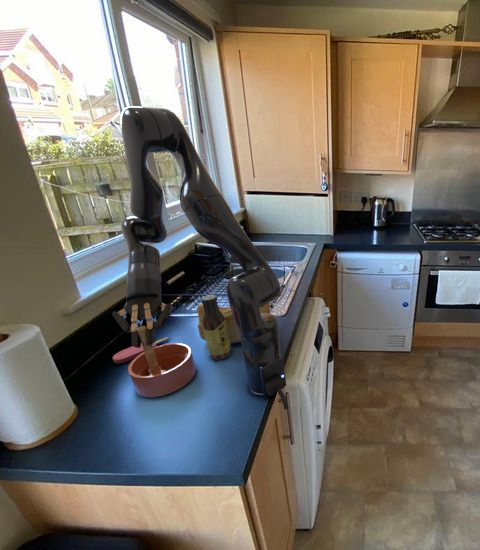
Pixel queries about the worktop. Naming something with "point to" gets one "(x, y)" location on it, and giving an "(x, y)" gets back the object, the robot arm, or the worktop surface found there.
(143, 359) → the mixing bowl
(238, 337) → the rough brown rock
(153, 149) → the robot arm
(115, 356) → the popsicle
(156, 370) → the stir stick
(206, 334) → the sauce bottle
